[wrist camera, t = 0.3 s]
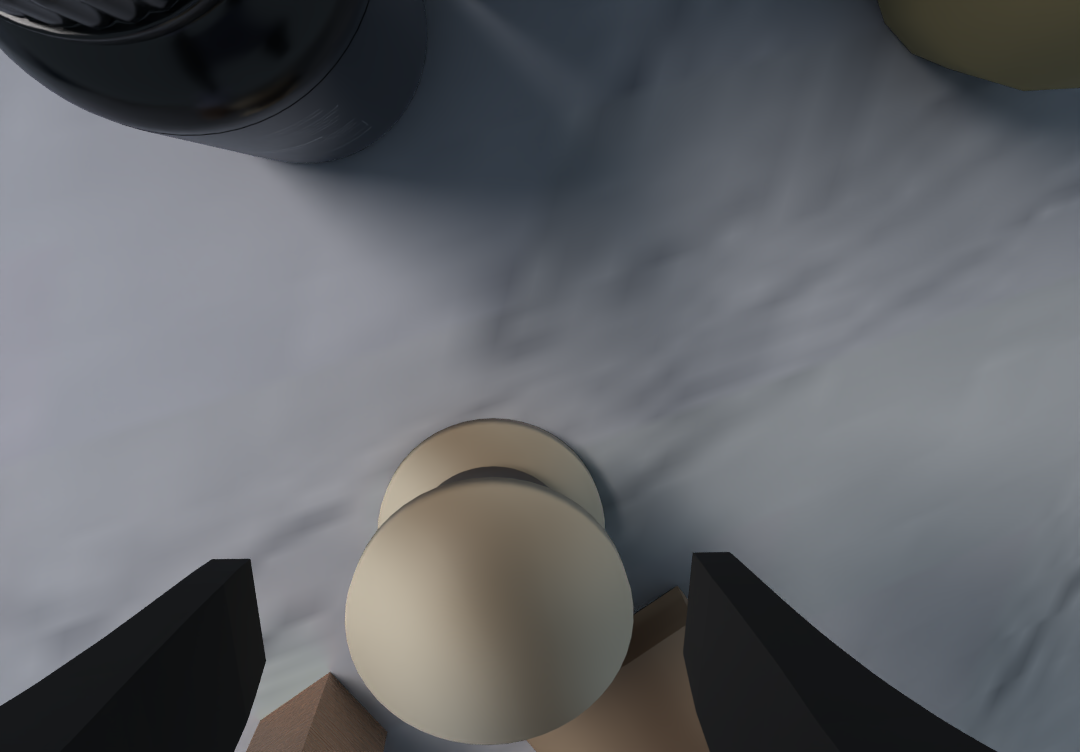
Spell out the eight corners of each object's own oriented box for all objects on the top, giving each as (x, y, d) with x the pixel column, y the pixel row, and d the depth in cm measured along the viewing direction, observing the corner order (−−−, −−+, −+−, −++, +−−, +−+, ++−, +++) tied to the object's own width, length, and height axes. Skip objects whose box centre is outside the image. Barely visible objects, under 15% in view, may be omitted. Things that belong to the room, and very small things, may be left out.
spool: (471, 659, 24) (464, 791, 18) (335, 504, 22) (283, 600, 17) (643, 541, 23) (687, 643, 18) (515, 374, 22) (521, 430, 16)
